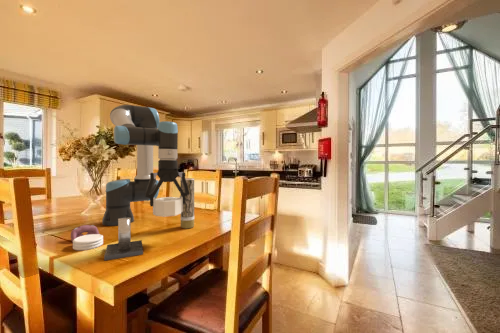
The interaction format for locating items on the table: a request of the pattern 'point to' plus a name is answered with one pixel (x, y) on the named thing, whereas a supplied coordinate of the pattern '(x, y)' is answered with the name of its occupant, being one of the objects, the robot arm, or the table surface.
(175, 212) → the ring
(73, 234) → the purple curved piece
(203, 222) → the table surface
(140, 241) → the post stand
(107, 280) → the table surface
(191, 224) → the paper tube
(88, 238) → the coaster
